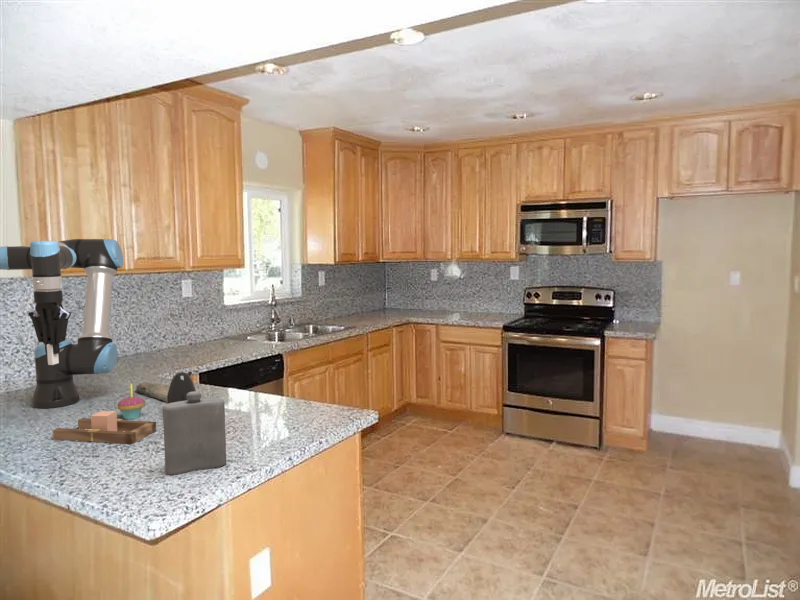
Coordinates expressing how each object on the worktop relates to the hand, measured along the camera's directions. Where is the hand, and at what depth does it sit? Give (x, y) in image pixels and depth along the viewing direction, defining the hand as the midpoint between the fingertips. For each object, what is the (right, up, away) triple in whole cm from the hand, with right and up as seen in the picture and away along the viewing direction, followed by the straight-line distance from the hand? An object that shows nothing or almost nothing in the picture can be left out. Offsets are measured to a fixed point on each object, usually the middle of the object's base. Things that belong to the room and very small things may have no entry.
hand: (53, 363), depth 169 cm
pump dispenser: (+35, -20, +17) cm, 43 cm away
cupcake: (+18, -20, +14) cm, 31 cm away
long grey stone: (+17, -18, +41) cm, 48 cm away
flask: (+57, -24, -29) cm, 68 cm away
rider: (+19, -22, -4) cm, 29 cm away
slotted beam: (+19, -22, -4) cm, 29 cm away
